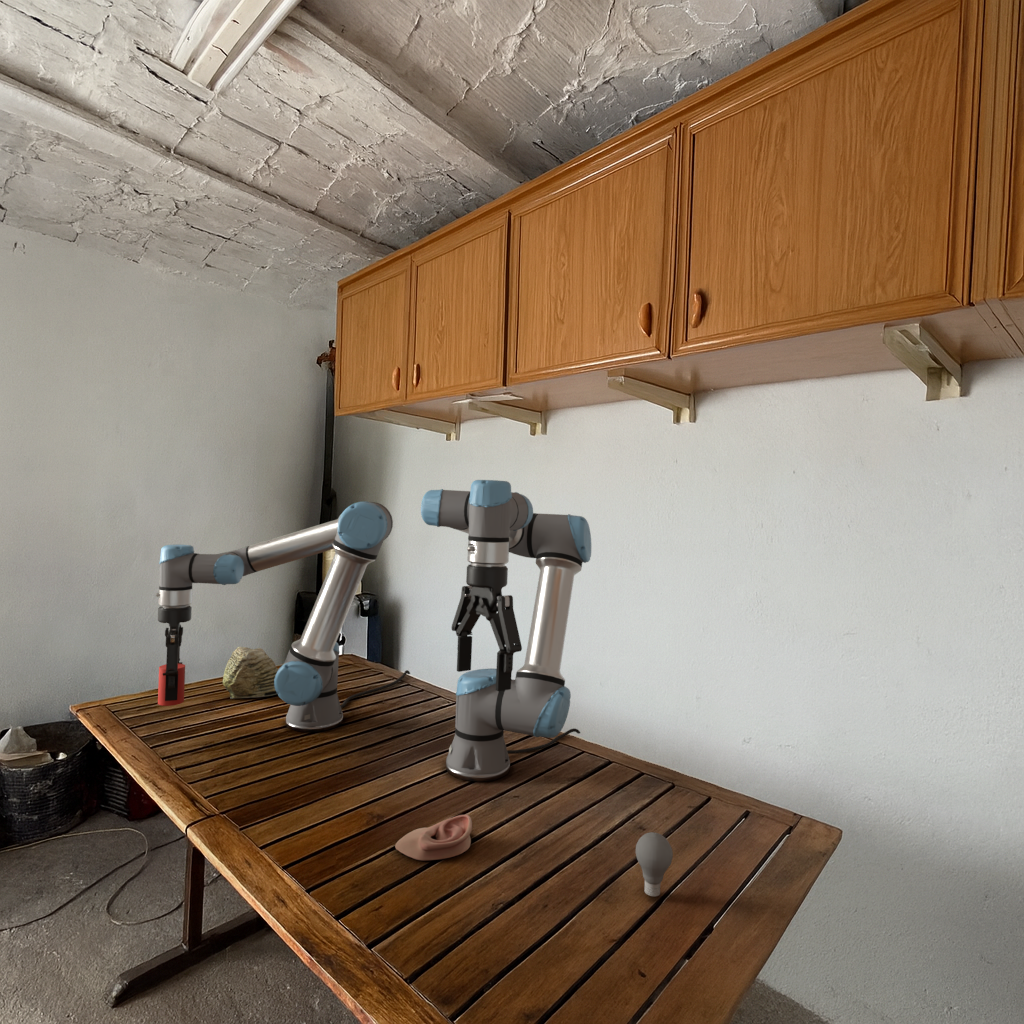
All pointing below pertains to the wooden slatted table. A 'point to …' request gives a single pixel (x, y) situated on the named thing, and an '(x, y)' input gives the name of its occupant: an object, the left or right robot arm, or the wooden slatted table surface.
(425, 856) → the anatomical model
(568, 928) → the wooden slatted table surface
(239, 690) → the fossil
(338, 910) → the wooden slatted table surface
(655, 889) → the light bulb
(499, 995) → the wooden slatted table surface
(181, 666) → the canister
